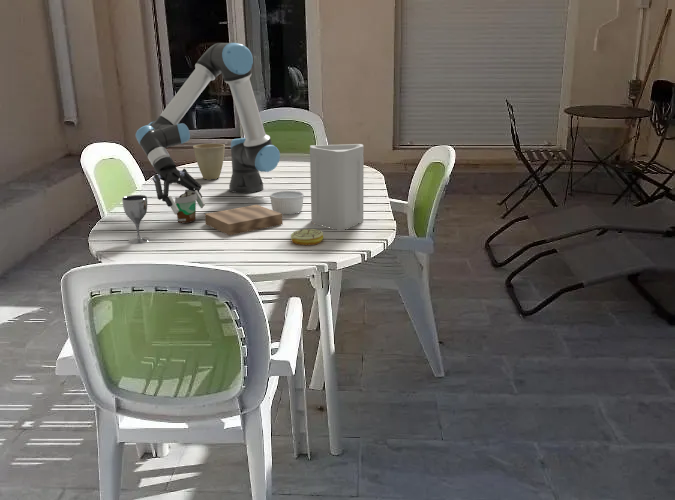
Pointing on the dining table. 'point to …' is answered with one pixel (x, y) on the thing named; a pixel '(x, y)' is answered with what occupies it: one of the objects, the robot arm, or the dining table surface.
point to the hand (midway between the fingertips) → (190, 209)
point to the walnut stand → (243, 219)
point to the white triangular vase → (337, 185)
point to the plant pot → (210, 159)
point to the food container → (186, 206)
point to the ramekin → (287, 201)
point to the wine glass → (136, 213)
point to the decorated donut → (307, 236)
